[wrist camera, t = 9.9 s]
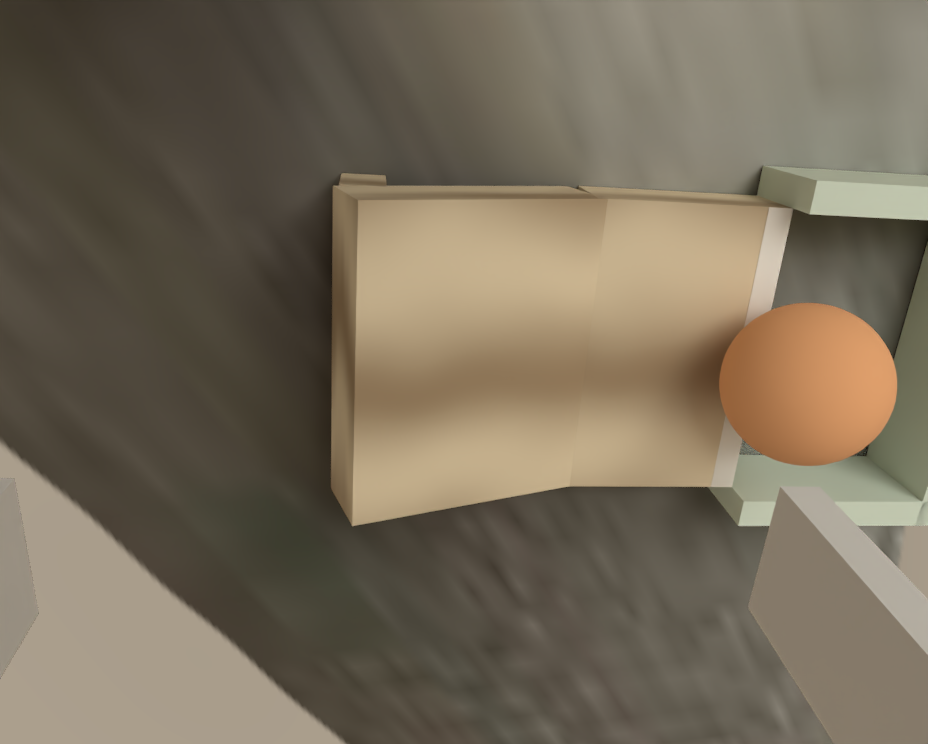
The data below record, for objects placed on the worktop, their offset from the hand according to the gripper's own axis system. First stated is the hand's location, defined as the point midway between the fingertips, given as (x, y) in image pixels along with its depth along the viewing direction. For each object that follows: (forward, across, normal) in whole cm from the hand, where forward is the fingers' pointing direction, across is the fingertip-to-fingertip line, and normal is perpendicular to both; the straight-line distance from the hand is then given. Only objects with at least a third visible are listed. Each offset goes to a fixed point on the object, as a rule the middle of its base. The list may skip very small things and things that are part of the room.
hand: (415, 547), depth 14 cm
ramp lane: (+14, +5, -1) cm, 15 cm away
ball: (+11, +15, -1) cm, 18 cm away
